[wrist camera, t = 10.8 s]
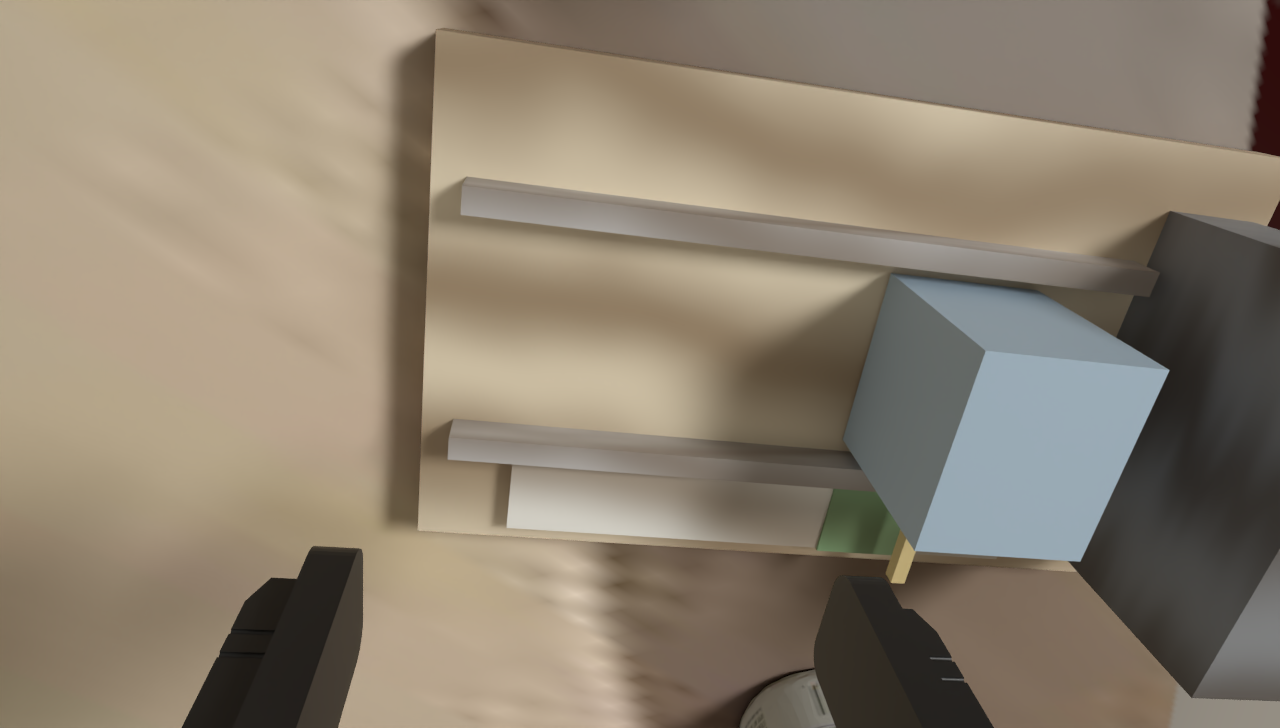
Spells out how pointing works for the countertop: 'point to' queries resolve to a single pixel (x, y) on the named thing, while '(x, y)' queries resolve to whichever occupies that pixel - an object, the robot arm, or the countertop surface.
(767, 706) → the spray can
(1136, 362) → the gauge slider
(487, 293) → the base
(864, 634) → the robot arm
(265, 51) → the countertop surface
